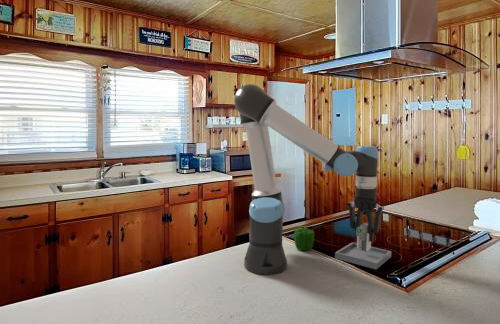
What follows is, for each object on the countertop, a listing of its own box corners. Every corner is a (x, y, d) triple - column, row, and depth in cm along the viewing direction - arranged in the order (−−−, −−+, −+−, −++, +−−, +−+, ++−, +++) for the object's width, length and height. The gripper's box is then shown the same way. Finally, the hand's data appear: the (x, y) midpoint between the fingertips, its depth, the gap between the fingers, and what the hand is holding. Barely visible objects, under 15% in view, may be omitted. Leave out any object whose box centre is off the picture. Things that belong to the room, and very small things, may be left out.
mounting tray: (334, 258, 125) (335, 252, 124) (352, 247, 136) (352, 242, 136) (376, 269, 115) (376, 263, 114) (391, 256, 126) (391, 251, 126)
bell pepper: (311, 245, 139) (312, 222, 138) (316, 252, 131) (317, 227, 130) (291, 245, 138) (292, 222, 137) (295, 252, 130) (295, 227, 129)
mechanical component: (353, 253, 122) (354, 227, 122) (365, 246, 130) (366, 221, 129) (361, 255, 120) (362, 228, 120) (372, 248, 128) (373, 223, 127)
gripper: (341, 186, 125) (339, 246, 128) (384, 191, 115) (381, 256, 117) (349, 183, 131) (348, 241, 133) (391, 188, 121) (388, 250, 123)
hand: (363, 248), depth 125 cm, fingers closed on mechanical component, 3 cm apart
